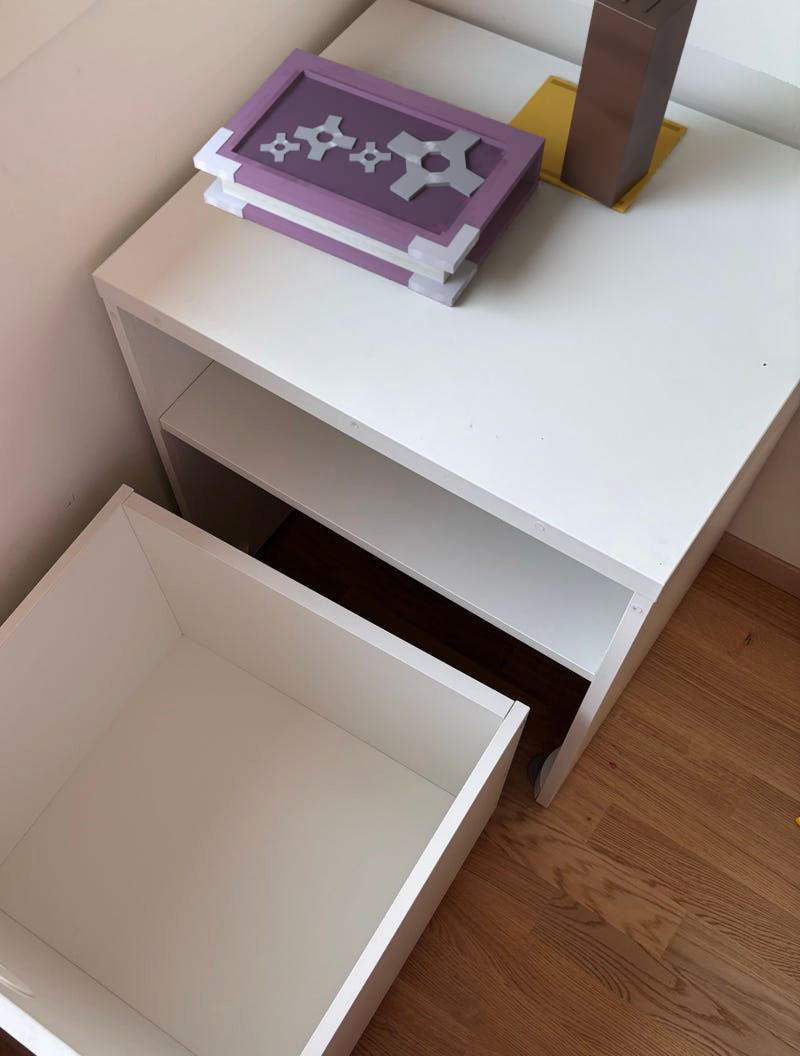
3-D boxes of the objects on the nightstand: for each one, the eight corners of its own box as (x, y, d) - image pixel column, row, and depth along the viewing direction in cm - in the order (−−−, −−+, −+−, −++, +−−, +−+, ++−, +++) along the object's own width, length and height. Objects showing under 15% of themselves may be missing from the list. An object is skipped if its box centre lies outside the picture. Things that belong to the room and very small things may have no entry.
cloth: (686, 130, 90) (687, 126, 90) (623, 213, 86) (624, 210, 86) (550, 77, 94) (550, 74, 94) (484, 155, 90) (484, 152, 90)
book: (202, 205, 90) (193, 157, 85) (298, 96, 95) (294, 46, 90) (450, 310, 83) (453, 265, 79) (538, 186, 88) (547, 137, 84)
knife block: (596, 146, 89) (638, -39, 75) (648, 173, 88) (701, -11, 73) (559, 180, 88) (594, -2, 73) (610, 209, 86) (657, 28, 72)
